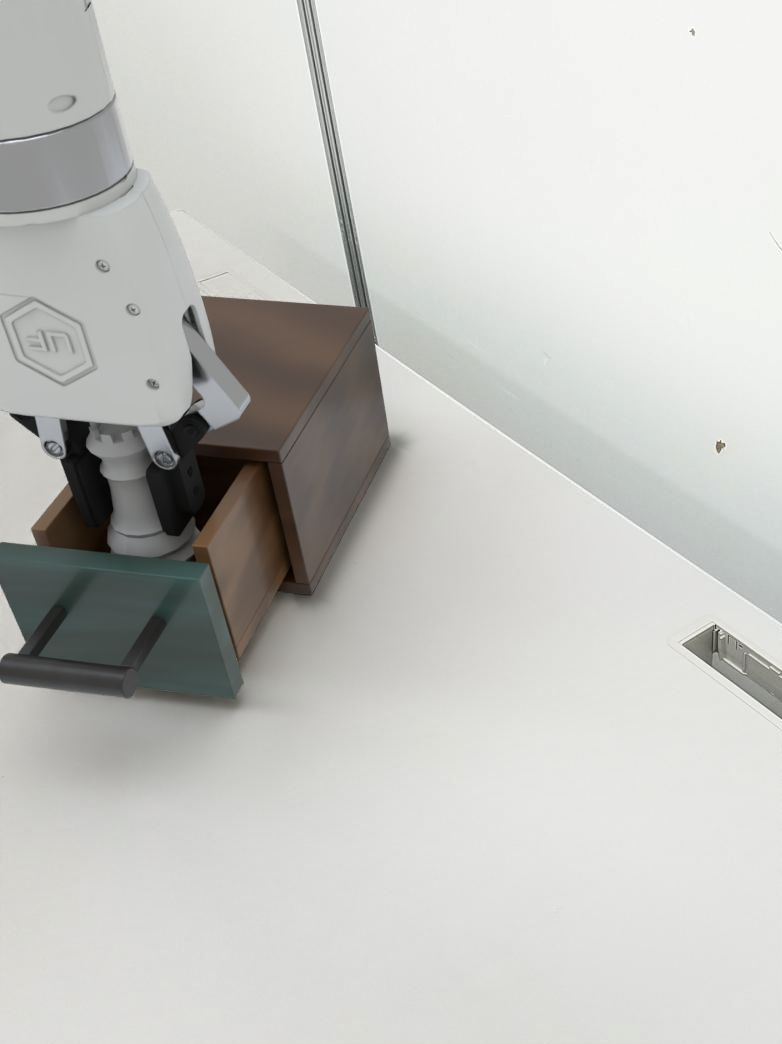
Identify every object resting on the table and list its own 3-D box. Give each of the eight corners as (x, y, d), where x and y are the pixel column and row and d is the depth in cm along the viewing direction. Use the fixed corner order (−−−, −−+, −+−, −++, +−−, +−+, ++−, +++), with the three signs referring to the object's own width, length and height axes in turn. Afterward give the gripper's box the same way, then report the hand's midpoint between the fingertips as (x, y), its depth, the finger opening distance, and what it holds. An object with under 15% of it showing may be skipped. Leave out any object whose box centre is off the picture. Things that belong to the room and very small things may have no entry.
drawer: (196, 772, 59) (153, 651, 54) (-10, 745, 60) (-70, 625, 55) (326, 530, 72) (302, 414, 67) (155, 513, 74) (119, 399, 68)
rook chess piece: (171, 588, 62) (129, 455, 57) (94, 570, 63) (45, 437, 58) (220, 534, 65) (184, 402, 60) (145, 517, 67) (104, 387, 61)
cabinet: (312, 595, 69) (279, 450, 63) (114, 574, 71) (63, 431, 65) (390, 444, 80) (369, 307, 74) (217, 428, 82) (182, 293, 75)
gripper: (-217, 177, 49) (-48, 545, 61) (186, 206, 47) (277, 582, 59) (-104, 104, 54) (30, 455, 67) (262, 126, 52) (330, 485, 64)
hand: (145, 511), depth 63 cm, fingers closed on rook chess piece, 3 cm apart
